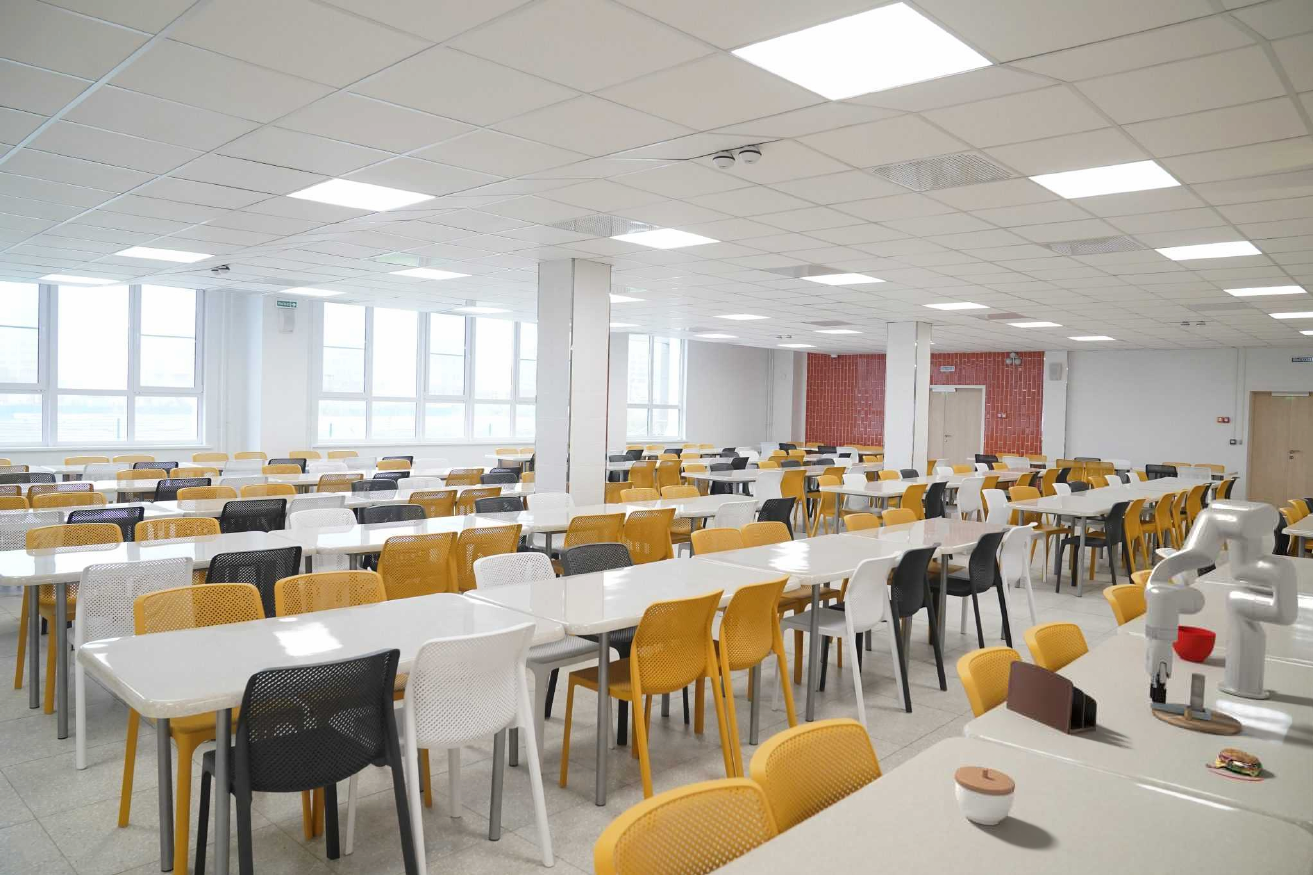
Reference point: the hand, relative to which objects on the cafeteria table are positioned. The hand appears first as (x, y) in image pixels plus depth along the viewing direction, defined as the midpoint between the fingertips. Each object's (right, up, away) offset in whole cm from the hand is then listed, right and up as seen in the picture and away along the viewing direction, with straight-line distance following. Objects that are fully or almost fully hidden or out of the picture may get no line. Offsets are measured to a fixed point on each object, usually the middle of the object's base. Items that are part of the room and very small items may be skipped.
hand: (1157, 700), depth 227 cm
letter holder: (-33, -3, -8) cm, 34 cm away
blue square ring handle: (+4, -2, -2) cm, 6 cm away
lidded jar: (-73, -2, -66) cm, 99 cm away
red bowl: (+47, -5, +60) cm, 77 cm away
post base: (+8, -4, -4) cm, 10 cm away
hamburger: (-4, -5, -35) cm, 36 cm away
